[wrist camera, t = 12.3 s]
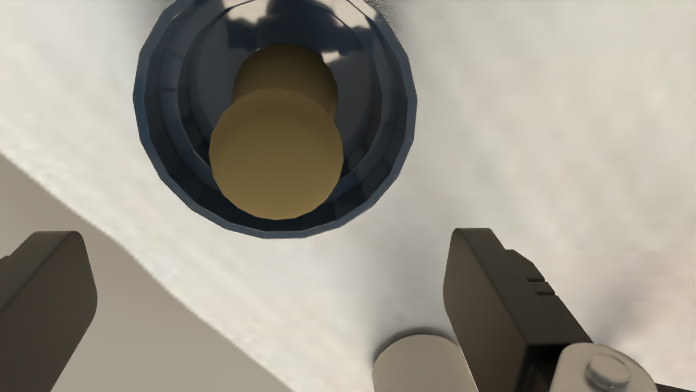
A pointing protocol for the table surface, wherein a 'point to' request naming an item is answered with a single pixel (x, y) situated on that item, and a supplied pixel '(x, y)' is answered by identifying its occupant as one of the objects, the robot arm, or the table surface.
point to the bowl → (217, 89)
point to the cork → (279, 134)
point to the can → (422, 367)
